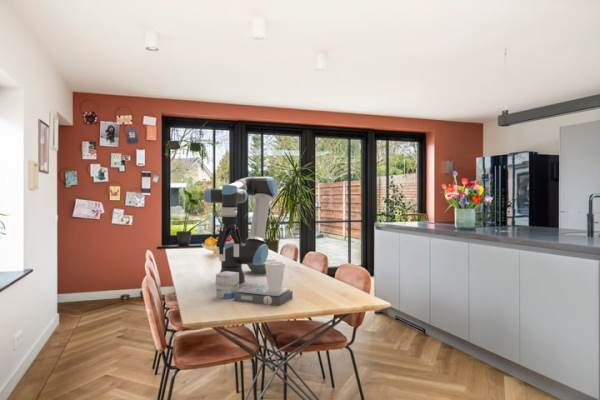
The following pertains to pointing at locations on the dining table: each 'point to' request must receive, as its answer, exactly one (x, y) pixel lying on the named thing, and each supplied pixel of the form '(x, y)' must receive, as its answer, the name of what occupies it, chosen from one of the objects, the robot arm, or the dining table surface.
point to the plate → (261, 290)
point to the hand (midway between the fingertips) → (229, 258)
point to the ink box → (227, 284)
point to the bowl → (261, 266)
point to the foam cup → (274, 275)
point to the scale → (263, 298)
